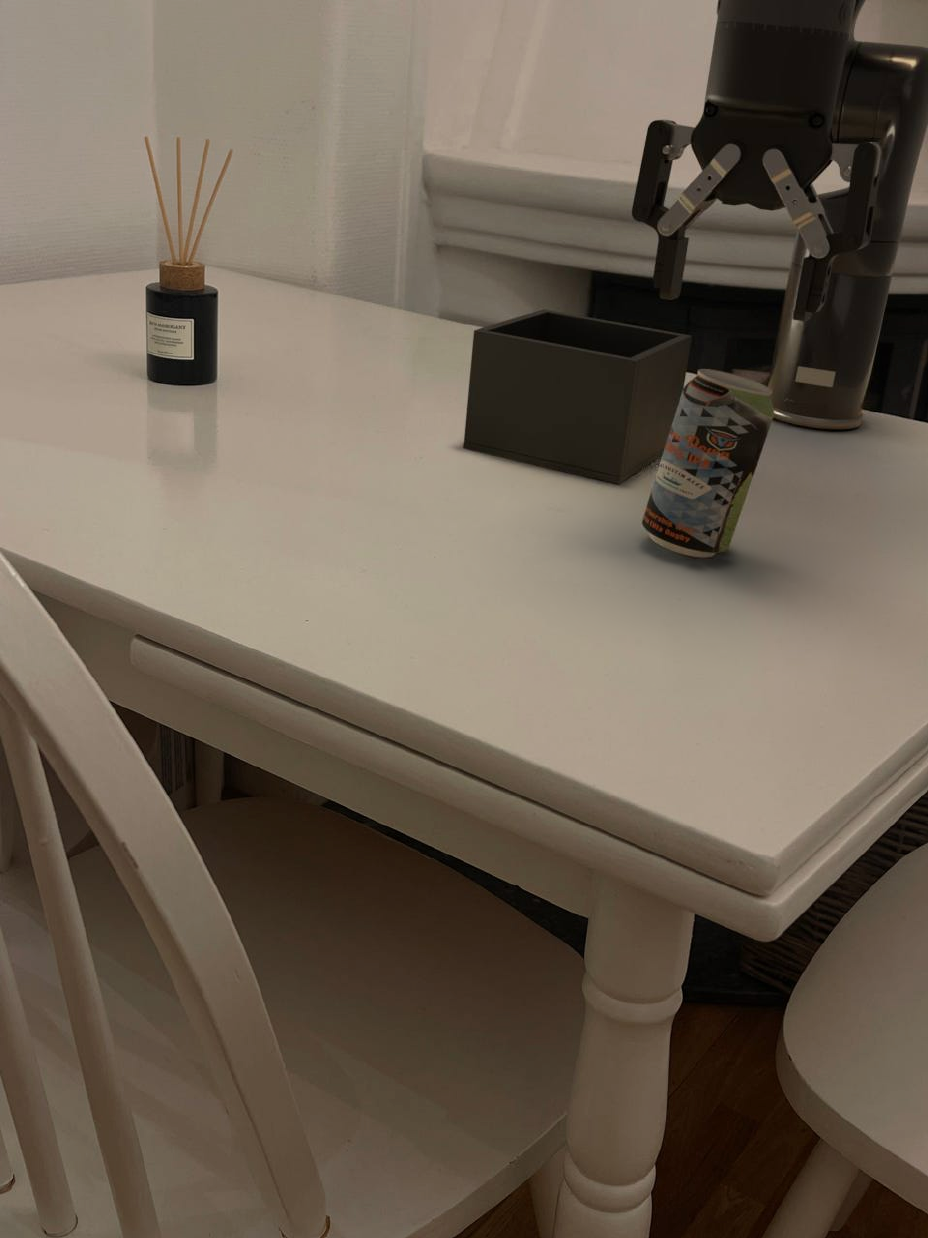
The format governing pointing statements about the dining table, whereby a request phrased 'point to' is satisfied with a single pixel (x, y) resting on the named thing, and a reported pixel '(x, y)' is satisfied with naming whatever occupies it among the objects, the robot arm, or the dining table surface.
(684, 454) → the beverage can
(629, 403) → the waste bin
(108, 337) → the dining table surface
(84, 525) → the dining table surface
